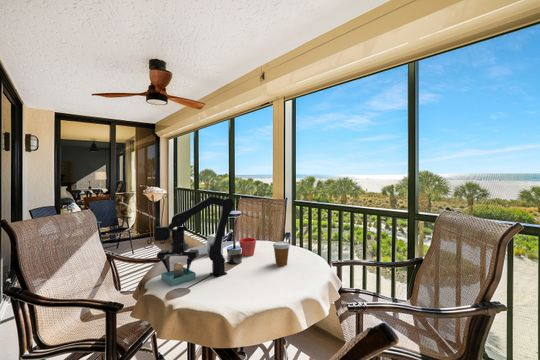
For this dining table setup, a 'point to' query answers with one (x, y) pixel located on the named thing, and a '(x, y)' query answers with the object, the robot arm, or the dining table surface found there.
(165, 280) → the trough tray
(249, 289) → the dining table surface
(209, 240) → the supplement box
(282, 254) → the disposable coffee cup
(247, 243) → the flower pot
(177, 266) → the battery cell
